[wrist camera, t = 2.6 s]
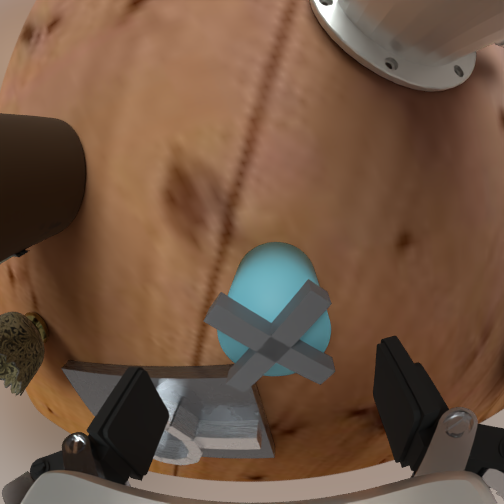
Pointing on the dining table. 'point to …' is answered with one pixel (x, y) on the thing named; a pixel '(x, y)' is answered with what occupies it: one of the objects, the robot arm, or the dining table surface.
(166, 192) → the dining table surface
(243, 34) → the dining table surface
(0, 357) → the cup
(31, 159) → the olive oil
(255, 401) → the coupling base
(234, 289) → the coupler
